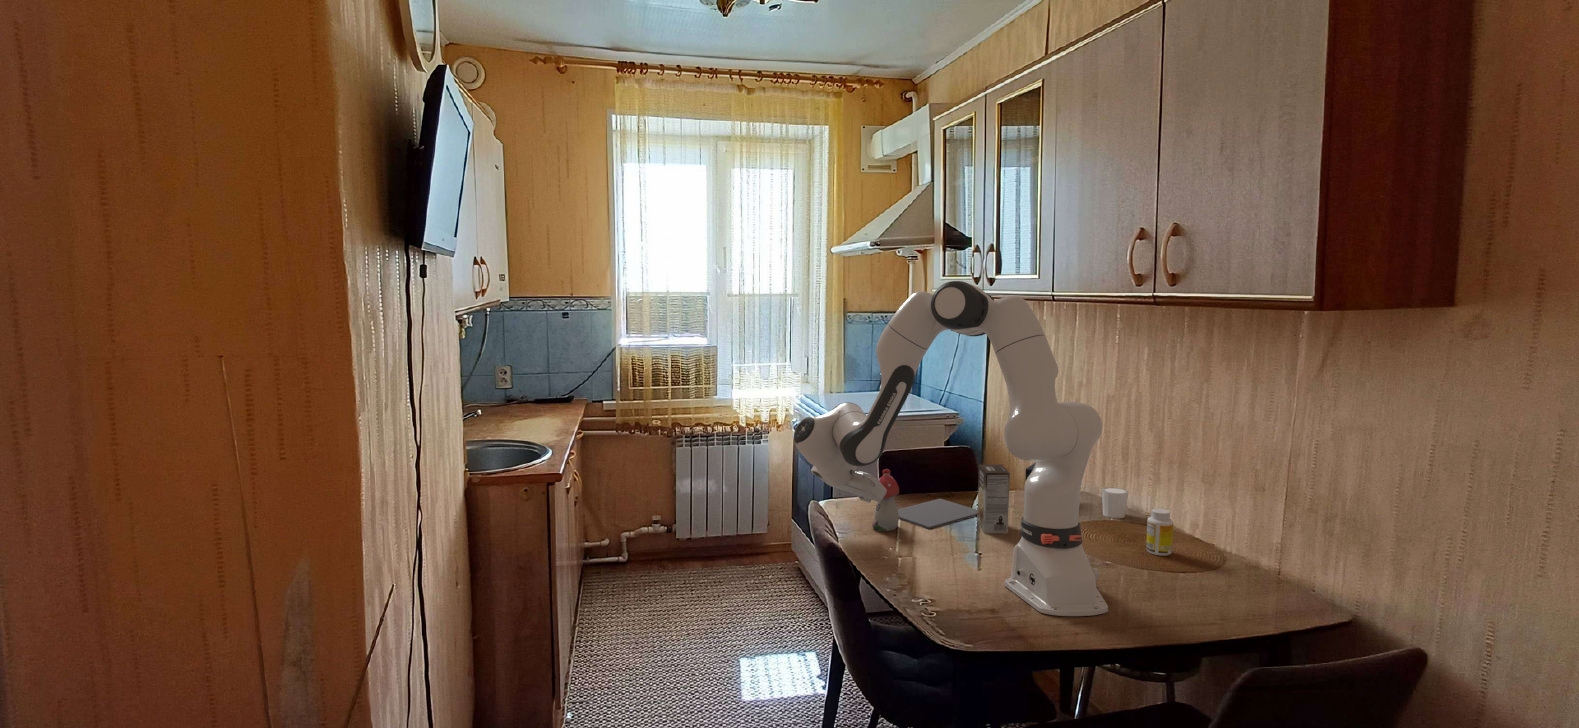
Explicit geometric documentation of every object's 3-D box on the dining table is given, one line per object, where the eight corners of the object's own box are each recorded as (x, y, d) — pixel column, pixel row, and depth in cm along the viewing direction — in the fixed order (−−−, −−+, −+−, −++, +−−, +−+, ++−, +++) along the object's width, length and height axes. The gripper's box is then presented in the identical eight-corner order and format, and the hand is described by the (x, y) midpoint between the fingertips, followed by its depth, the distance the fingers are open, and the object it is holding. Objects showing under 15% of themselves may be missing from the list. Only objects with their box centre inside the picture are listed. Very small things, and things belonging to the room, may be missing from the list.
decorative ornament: (880, 520, 208) (881, 466, 206) (903, 524, 205) (904, 469, 203) (867, 530, 199) (868, 474, 198) (891, 534, 196) (892, 477, 195)
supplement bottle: (1174, 552, 184) (1177, 510, 182) (1167, 558, 179) (1170, 515, 178) (1150, 546, 187) (1152, 506, 186) (1142, 552, 183) (1144, 511, 182)
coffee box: (976, 522, 206) (977, 463, 204) (1000, 522, 206) (1001, 463, 204) (984, 533, 197) (985, 472, 195) (1009, 533, 197) (1011, 472, 195)
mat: (928, 529, 200) (928, 527, 200) (885, 514, 213) (886, 512, 213) (983, 513, 214) (983, 511, 214) (940, 500, 226) (940, 498, 226)
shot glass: (1128, 513, 213) (1130, 489, 213) (1125, 520, 208) (1126, 495, 207) (1102, 510, 217) (1103, 485, 216) (1098, 516, 211) (1099, 491, 210)
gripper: (874, 465, 183) (902, 498, 190) (819, 450, 199) (848, 481, 206) (860, 486, 181) (889, 519, 188) (806, 469, 197) (835, 500, 204)
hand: (867, 499), depth 197 cm, fingers closed
